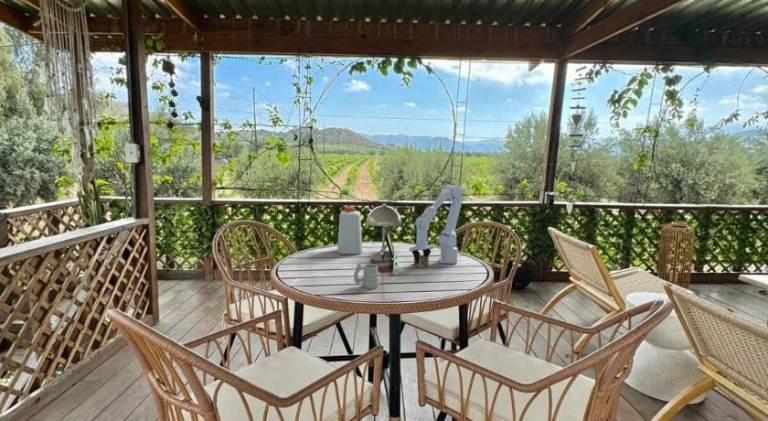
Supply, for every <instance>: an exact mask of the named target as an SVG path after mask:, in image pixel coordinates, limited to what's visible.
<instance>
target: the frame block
mask: <svg viewBox="0 0 768 421" xmlns="http://www.w3.org/2000/svg"><path fill="white" fill-rule="evenodd" d="M429 261H430V258H429V256H428V257H426V256H423V254H421V253H420V255H419V263H418V264H417V263H415V258H414V257H413V265H415V266H417V267H419V268H421V269H424V268H429V264H430V263H429Z"/></svg>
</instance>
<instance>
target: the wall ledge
mask: <svg viewBox="0 0 768 421" xmlns="http://www.w3.org/2000/svg"><path fill="white" fill-rule="evenodd" d="M399 259H400V254H394V261H393V267H392V268H393V269H392V275H393V276H398V275H399Z"/></svg>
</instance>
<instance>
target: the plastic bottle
mask: <svg viewBox="0 0 768 421" xmlns="http://www.w3.org/2000/svg"><path fill="white" fill-rule="evenodd" d="M338 223H339V224H338V235H337V236H338V237H337V253H338V254H339V255H342V256H343V255H345V256H346V255H351V256H354V255H361V254H362V253H363V240H362V238H363V237H362V224H361V212H360V210H356V208H355V207H354V206H345V207H344V210H341V211H340V213H339V222H338Z"/></svg>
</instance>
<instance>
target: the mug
mask: <svg viewBox="0 0 768 421" xmlns="http://www.w3.org/2000/svg"><path fill="white" fill-rule="evenodd" d="M362 270H363V272H362V274H363V277H360V278H359V273H360V271H362ZM353 279H354V282H355V284H356V285H359V284H360V283H362V286H363V289H367V290H375V289H377V288H378V287H379V284H380V281H379V266H378V265H377V264H373V263H371V264H370V263H368V264H365V265H364V266H362V264H361V263H360V262H359V261H357V265H356V268H355V270H354V273H353Z"/></svg>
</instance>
